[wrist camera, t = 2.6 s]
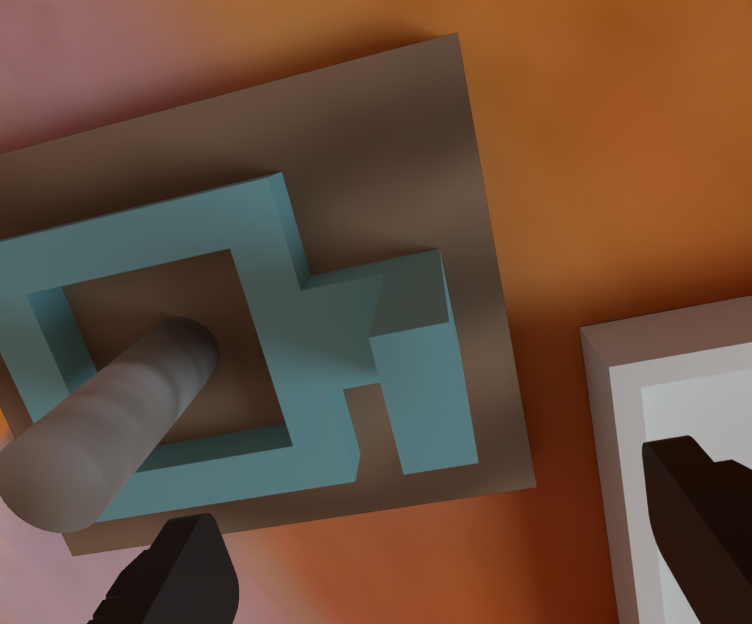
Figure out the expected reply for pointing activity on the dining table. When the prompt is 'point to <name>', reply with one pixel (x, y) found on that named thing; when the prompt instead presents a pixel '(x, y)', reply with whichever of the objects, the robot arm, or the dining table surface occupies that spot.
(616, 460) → the tray
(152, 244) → the teal frame with handle
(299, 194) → the stake board
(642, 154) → the dining table surface
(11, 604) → the dining table surface
